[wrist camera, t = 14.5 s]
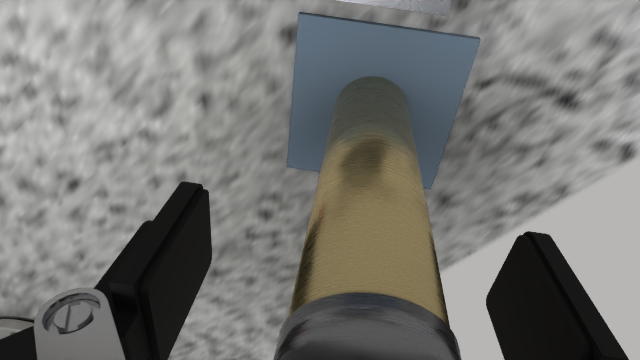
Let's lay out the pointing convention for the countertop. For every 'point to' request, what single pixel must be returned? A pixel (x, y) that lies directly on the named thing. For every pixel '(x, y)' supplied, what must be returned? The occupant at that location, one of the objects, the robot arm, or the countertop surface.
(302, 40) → the rubber mat
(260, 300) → the countertop surface
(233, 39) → the countertop surface
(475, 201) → the countertop surface
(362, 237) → the spice shaker
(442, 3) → the chuck block
